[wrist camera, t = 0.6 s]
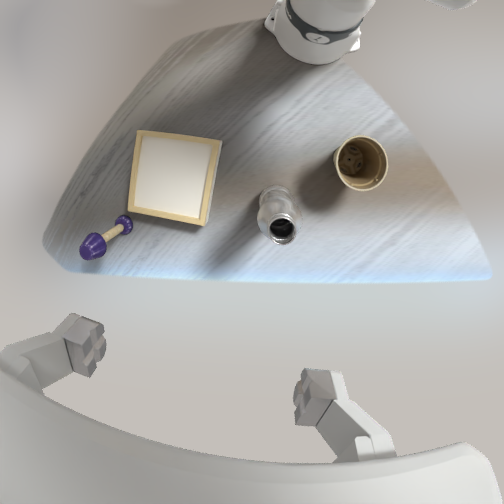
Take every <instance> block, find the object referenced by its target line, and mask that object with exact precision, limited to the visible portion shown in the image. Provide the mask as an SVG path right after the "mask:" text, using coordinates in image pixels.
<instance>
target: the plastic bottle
mask: <svg viewBox="0 0 504 504" xmlns="http://www.w3.org/2000/svg"><path fill="white" fill-rule="evenodd" d="M259 206H260V209H259V211H258V215H257V222H258V226H259V228H260V230H261V232H262V233H263V234H264V235H265V236H266V237H268V238H269V239H271V240H272V241H273V242H274V243H276V244H279V245H286V244H289V243H291V242H292V241H293V240H294V238H295V237H296V234H297V233H298V232H299V230H300V228H301V225H302V214H301V211H300V209H299V208H298V206H297V205H296V204H295V201H294V197H293V195H292V193H291V192H290V191H289V190H288V189H287V188H285V187H283V186H280V185H272V186H269V187H267V188H266V189H265V190H263V192H262V193H261V195H260V198H259Z"/></svg>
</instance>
